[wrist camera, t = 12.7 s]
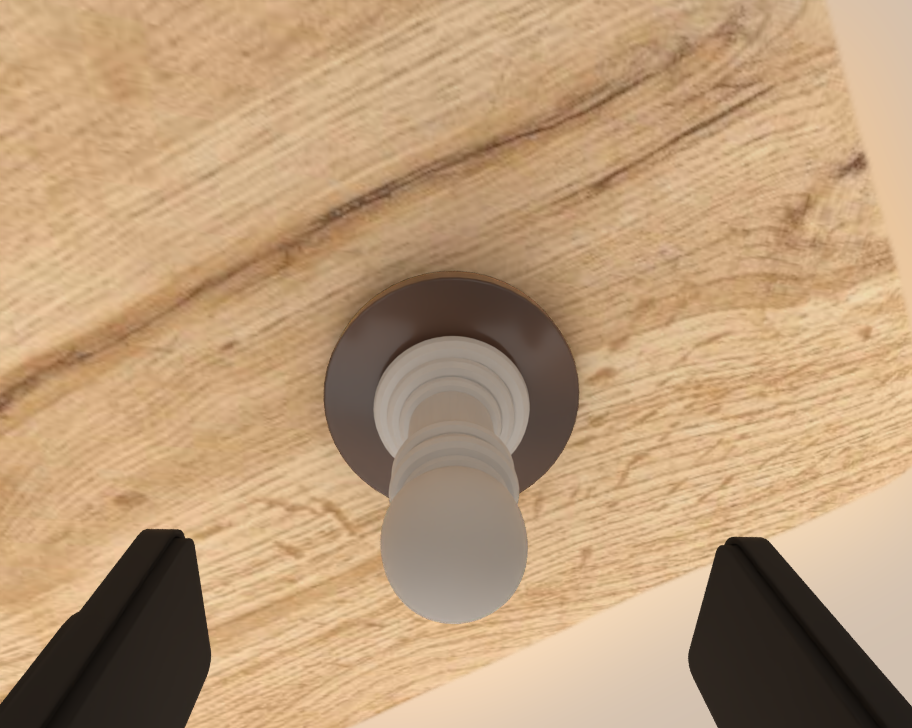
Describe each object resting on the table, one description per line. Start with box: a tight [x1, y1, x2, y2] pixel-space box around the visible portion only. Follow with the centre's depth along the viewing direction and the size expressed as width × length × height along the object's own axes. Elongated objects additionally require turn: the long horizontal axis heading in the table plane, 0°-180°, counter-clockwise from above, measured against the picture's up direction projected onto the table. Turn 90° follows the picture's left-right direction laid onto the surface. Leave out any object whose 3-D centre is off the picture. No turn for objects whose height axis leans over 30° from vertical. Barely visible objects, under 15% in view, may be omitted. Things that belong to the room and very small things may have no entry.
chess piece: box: [373, 336, 530, 624], centre depth 15 cm, size 5×5×9 cm
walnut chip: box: [324, 271, 579, 498], centre depth 20 cm, size 9×9×1 cm
